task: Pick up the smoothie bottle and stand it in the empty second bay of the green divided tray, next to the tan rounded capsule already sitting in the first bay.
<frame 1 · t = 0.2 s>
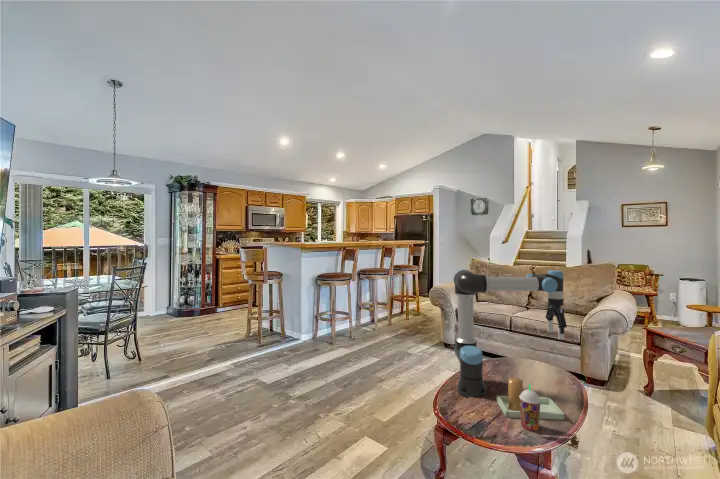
hand: (555, 335, 190), 28 cm above the table, fingers open, 13 cm apart
green divided tray: (528, 411, 162), on the table
smoothie: (530, 429, 148), on the table
tan rounded capsule: (515, 408, 163), point 1 cm above the table, touching green divided tray
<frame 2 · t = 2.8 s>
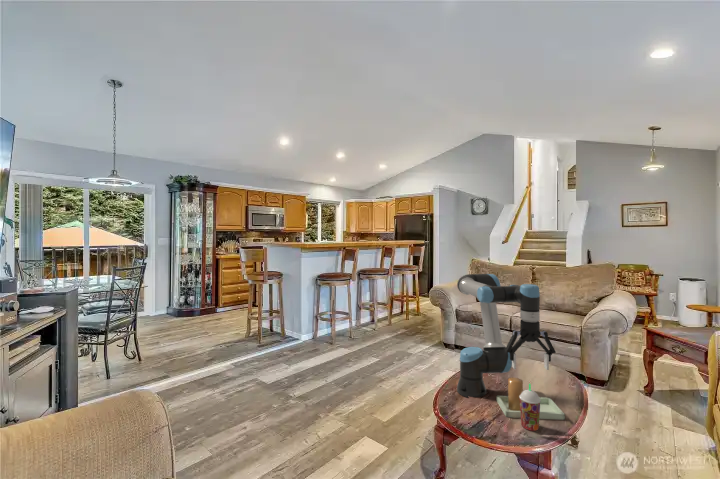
hand: (530, 368, 148), 27 cm above the table, fingers open, 13 cm apart
nothing on the table moved.
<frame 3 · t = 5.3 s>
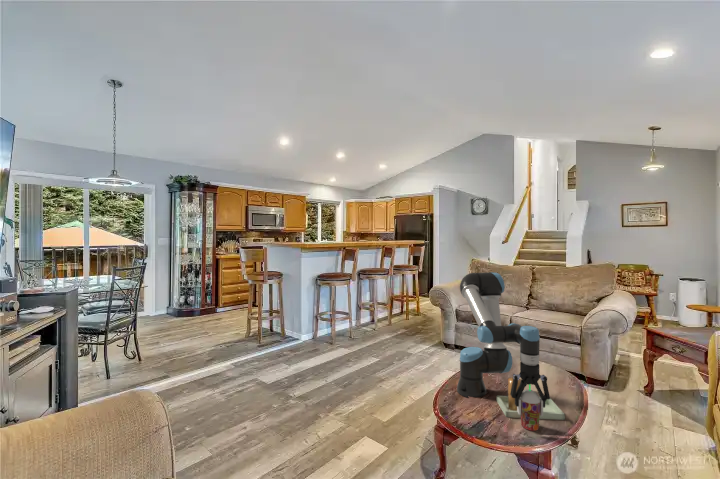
hand: (529, 413, 148), 7 cm above the table, fingers closed on smoothie, 8 cm apart
smoothie: (530, 429, 148), on the table, touching gripper
everything else where it was.
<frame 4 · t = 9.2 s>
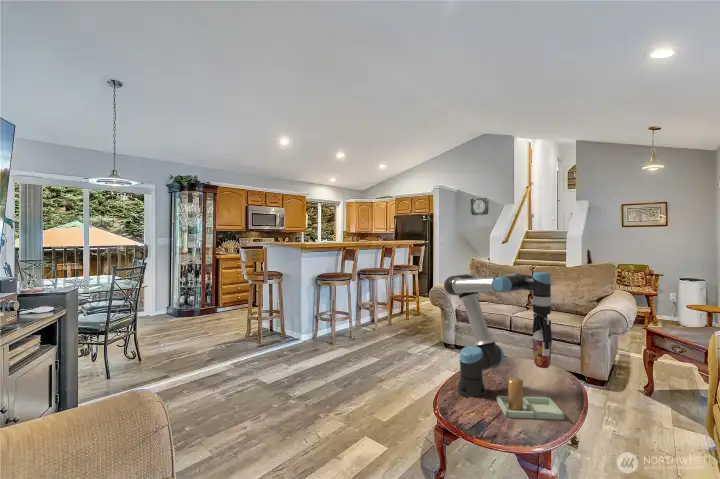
hand: (541, 351, 161), 29 cm above the table, fingers closed on smoothie, 8 cm apart
smoothie: (542, 366, 161), point 22 cm above the table, touching gripper
everything else where it was.
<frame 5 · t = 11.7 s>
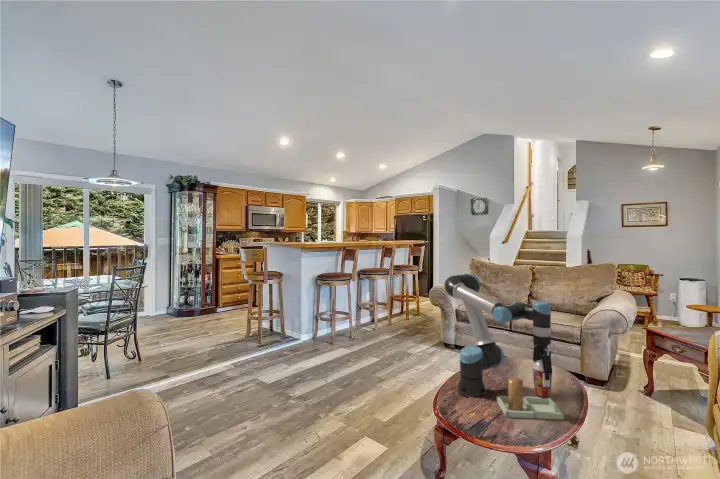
hand: (542, 381, 161), 15 cm above the table, fingers closed on smoothie, 8 cm apart
smoothie: (542, 396, 161), point 8 cm above the table, touching gripper
everything else where it was.
when the fingers open (9 cm above the table, at t = 13.4 s): smoothie drops 1 cm, resting on green divided tray.
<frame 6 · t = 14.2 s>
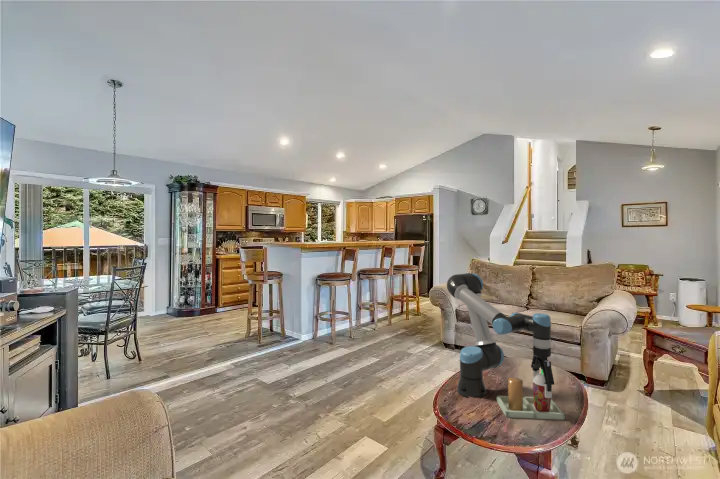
hand: (542, 390, 161), 10 cm above the table, fingers open, 13 cm apart
smoothie: (542, 410, 162), point 1 cm above the table, touching green divided tray
everything else where it was.
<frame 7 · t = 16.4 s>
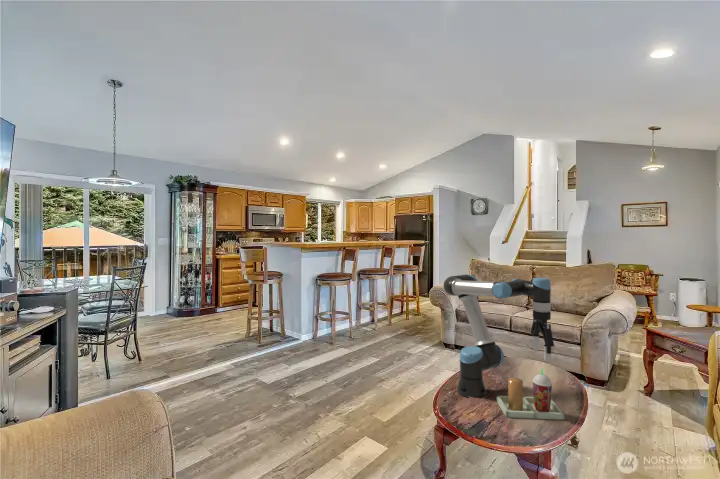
hand: (541, 354, 161), 28 cm above the table, fingers open, 13 cm apart
nothing on the table moved.
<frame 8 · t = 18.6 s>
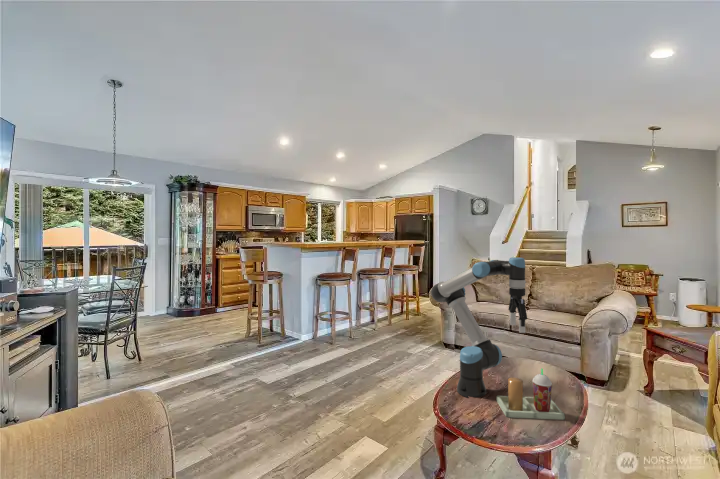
hand: (517, 328, 174), 37 cm above the table, fingers open, 13 cm apart
nothing on the table moved.
at the end: smoothie inside the target area on the green divided tray (0.0 cm from its centre), point 0.8 cm above the green divided tray's base; smoothie tilted 0°; the gripper is holding nothing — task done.
